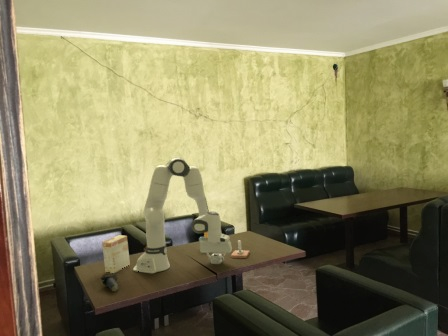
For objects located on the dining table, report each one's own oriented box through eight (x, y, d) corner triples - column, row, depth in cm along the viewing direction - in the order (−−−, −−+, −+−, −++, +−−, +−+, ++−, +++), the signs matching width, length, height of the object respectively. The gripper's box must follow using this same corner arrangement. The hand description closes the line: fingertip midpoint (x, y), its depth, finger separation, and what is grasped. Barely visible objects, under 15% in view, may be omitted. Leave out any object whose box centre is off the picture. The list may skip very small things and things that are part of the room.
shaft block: (231, 257, 236) (230, 243, 235) (234, 252, 246) (233, 238, 245) (246, 258, 234) (245, 243, 233) (249, 252, 243) (248, 238, 242)
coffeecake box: (122, 264, 239) (119, 234, 237) (130, 265, 236) (127, 235, 234) (104, 272, 226) (101, 241, 224) (113, 274, 223) (110, 242, 221)
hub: (211, 263, 228) (210, 256, 227) (213, 260, 233) (213, 253, 233) (219, 264, 226) (219, 256, 226) (222, 260, 232) (221, 253, 231)
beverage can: (103, 288, 205) (110, 297, 195) (100, 276, 203) (106, 284, 193) (119, 281, 210) (126, 289, 200) (115, 269, 208) (122, 276, 198)
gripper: (197, 239, 228) (199, 260, 230) (229, 239, 223) (230, 261, 224) (200, 236, 234) (202, 257, 236) (231, 236, 229) (233, 257, 230)
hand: (216, 259), depth 230 cm, fingers open, 7 cm apart
